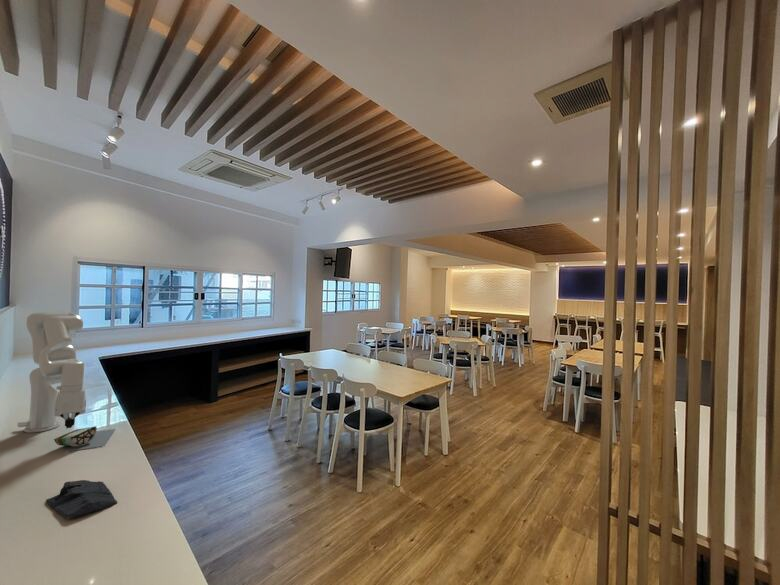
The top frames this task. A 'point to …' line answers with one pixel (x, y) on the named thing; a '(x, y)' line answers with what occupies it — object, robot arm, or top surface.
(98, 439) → the rubber mat
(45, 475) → the top surface
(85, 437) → the food container
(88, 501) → the dark slate chunk
